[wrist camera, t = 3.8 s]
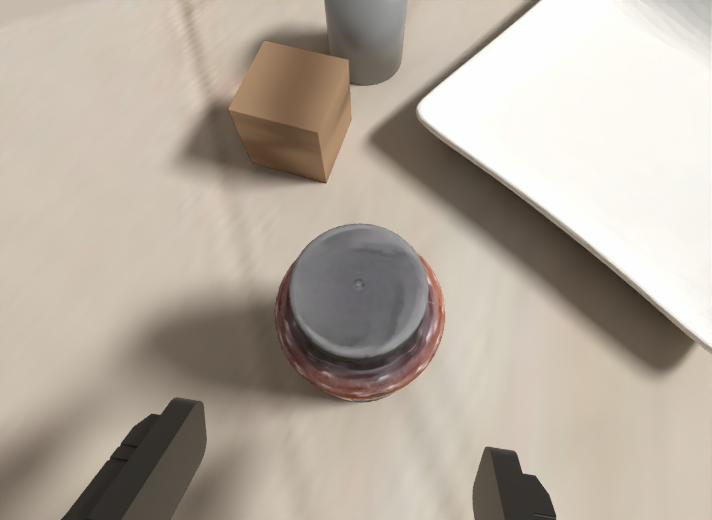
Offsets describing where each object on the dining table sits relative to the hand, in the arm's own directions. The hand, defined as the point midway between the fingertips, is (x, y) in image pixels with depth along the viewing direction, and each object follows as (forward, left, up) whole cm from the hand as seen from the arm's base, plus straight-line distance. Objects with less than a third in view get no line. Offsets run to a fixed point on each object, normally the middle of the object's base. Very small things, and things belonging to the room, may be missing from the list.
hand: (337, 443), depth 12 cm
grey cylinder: (-14, +20, -10) cm, 26 cm away
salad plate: (+4, +25, -10) cm, 27 cm away
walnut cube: (-13, +12, -10) cm, 20 cm away
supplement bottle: (-2, +4, -10) cm, 11 cm away
